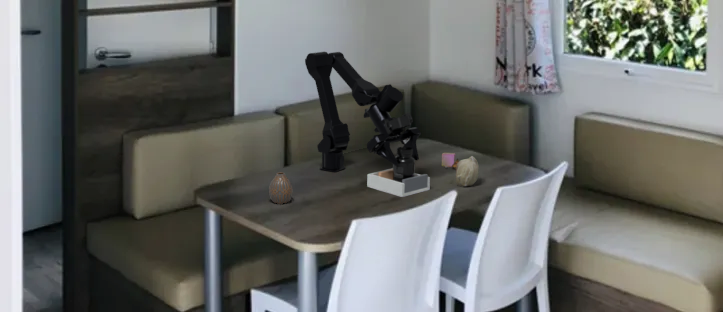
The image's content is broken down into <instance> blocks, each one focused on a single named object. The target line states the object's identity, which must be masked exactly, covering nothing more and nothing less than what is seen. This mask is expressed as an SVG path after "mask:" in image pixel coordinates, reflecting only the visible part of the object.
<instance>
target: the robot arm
mask: <svg viewBox="0 0 723 312" xmlns="http://www.w3.org/2000/svg"><path fill="white" fill-rule="evenodd" d="M304 62H305V63H304V65H305V67H306V70H307V72H308V74H309V75H310V77H311V78H312V79H313V81H314V83H315V85H316V91H317V94H318V95H317V96H318V100H319V103H320V107H321V111H322V116H323V120H324V125H323V128H322V131H321V132H322V133H321V134H322V140H320V141H319V142H318V144H317V145H316V147H317V151H318V152H319V153H321V167H319V170H321V171H326V172H332V173H333V172H334V173H337V172H339V171H341V170H344V169H346V166H345V155H344V154H343V153H344V152H343V151H347V149H348V146H349V142H350V140H351V139H350V136H351V133H350V130H349V126H348V123H343V122H342V120H341V119H340V116H339V115H340V114H339V111H338V108H337V103H336V98H335V94H334V93H335V92H334V89H333V86H332V80H331V75H332V71H333V69H334V71H335V72H336V73H337V74H338V75H339V77H340V78H341V79H342V80H343V81H344V83H346V84H347V86H348V87H349V89H350V90H351V96H352V98H353V100H354V101H355V102H356V104H357V105H358V106H359V107H365V106H369V107H368V108H365V109H364V112H363V118H364V119H367V118H369V119H370V120H371V122H372V123H373V125H374V127H375V128H374V130H373V131H374V132H375V133H379V134H375V135H373V136H372V137H371V138H370V139H369V141H368V142H367V143H366V148H367V150H368V152H369V153H373V154H374V155H378V156H380V157H381V158H383V159H385V160H386V161H388V162H389V163H391V164H392V165H393V164H394V165H397V164H398V162H397V160H396V158H395V157H396V155H395V154H394V152H393V150H392V149H391V144H392V143H397V142H400V143H401V144H402V147H410V148H412V153H413V154H412V157H414V159H415V162H416V161H418V160H419V152H418V147H417V140H418V139H419V138H420V137H419V136H421V134H422V132H421V131H420V129H419V128H418V127H411V125H412V123H413V122H414V120H413V116H412V115H411V114H410V113H409V112H408V113H404V114H402V115H401V116H399V117H395V116H394V117H391V115H390V113H392V112H393V111H394V110H395V109H396V107H397V106H398V105H400V103H401V102H402V100H403V99H404V95H403V92H402V91H400V90H399V89H398V88H396V87H395V86H392V84H391V83H390V84H389V83H388V84H385V85H384V87H383V89H381V90H380V89H379V88H378V86H376V85H375V84H373V83H372V82H371V81H368V80H366V79H365V78H363V77H362V76H361V75H360V74H359V72H357V70H356V69H355V68H354V67H353V65H351V64H350V62H349V61H348V60H347V58H345V55H344V53H342V52H340V51H335V52H329V53H328V52H327V51H317V52H310V53H308V54H307V56H306V58H305V59H304ZM407 127H411V128H407ZM404 128H406V130H405V129H404ZM404 130H405V131H404Z"/></svg>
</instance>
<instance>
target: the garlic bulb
mask: <svg viewBox="0 0 723 312" xmlns="http://www.w3.org/2000/svg"><path fill="white" fill-rule="evenodd" d="M479 174H480V166H479V163H478V160H477V159H476V158H475V157H474V156H473V155H471V156H469V158H465V159H461V160H459V162H458V163H457V167H456V170H455V183H456V185H457V186H459V187H471V186H474V184H475V183H476V182H477V180H478V179H479V178H478V177H479Z"/></svg>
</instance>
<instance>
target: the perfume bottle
mask: <svg viewBox="0 0 723 312" xmlns="http://www.w3.org/2000/svg"><path fill="white" fill-rule="evenodd" d="M456 156H457V155H456V153H455V152H442V154H441V167H444V168H445V169H447V168H448V169H449V168H451V169H452V170H453V171H454V170H455V171H456V167H457V163H458V162H459V161H460V160H459V158H456Z"/></svg>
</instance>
